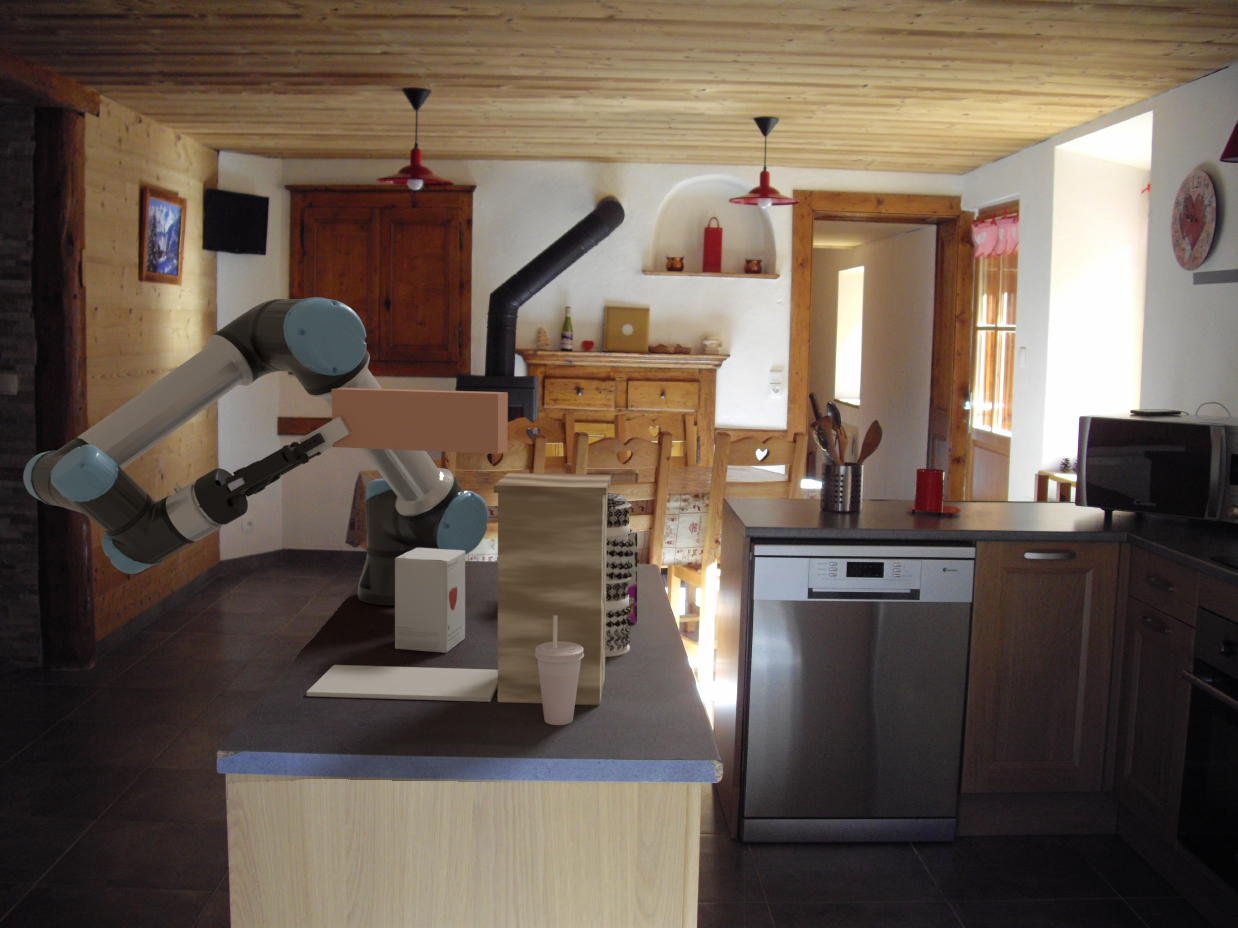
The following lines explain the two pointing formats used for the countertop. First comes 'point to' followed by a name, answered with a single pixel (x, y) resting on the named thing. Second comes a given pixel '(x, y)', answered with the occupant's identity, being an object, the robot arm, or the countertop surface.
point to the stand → (551, 578)
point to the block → (422, 420)
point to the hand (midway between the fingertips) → (349, 423)
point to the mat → (407, 683)
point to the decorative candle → (617, 576)
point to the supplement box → (429, 599)
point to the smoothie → (558, 677)
